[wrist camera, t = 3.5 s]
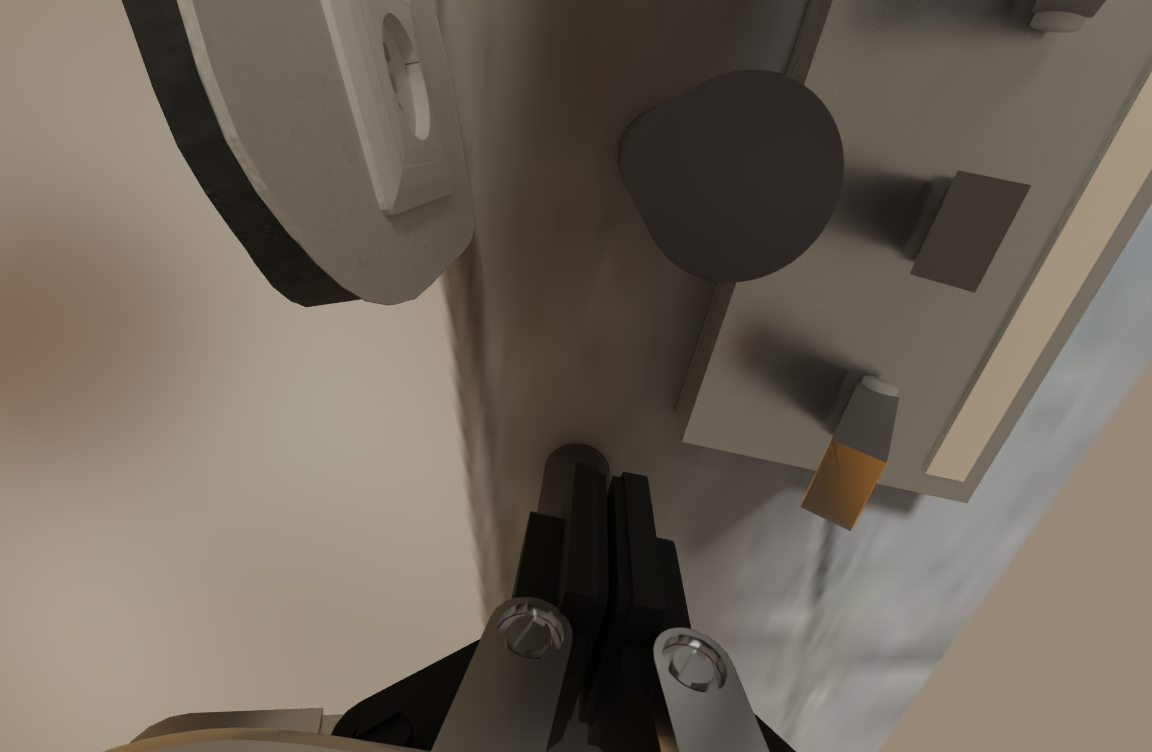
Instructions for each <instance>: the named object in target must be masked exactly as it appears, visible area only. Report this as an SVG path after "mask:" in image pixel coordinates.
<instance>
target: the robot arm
mask: <svg viewBox="0 0 1152 752" xmlns="http://www.w3.org/2000/svg"><path fill="white" fill-rule="evenodd" d="M578 696H579V709H578V720H579V723H584V724H588V732H587V745H592V746H597V747H599V748H600V749H601V750H602V751H603V752H796V751H795V750H793V749H792V748H791V747H790V746H789V745H788V744H787V743H786V742H785V741H784V740H783V739H782V738H780V737H779V736H778V735H777V734H776V733H775V732H774V731H773V730H772V729H771V728H770V727H769V726H767V725H766V724H765V723H764V722H763V721H762V720H761V719H760V718H759V717H758V716H757V715H755V714H754V713H753V710H752V708H751V706H750V703H749V701H748V698H747V696H746V694H745V691H744V689H743V686H742V684H741V682H740V679H739V677H738V674H737V672H736V670H735V667H734V665H733V663H732V661H731V660H730V658H729V656H728V654H727V653H726V652H725V651H724V650H723V649H722V647H721V646H720V645H719V644H718V643H716V642H715V641H714V640H712V639H711V638H710V637H708V636H707V635H705V634H702V633H700V632H698V631H696V630H692V629H691V626H690V621H689V615H688V610H687V605H686V600H685V595H684V589H683V584H682V579H681V574H680V568H679V563H678V558H677V553H676V547H675V544H674V542H673V541H671V540H666V539H662V538H657V537H656V531H655V524H654V517H653V511H652V504H651V497H650V490H649V483H648V478H647V477H646V476H642V475H637V474H633V473H628V472H623V473H622V474H621V477H616V476H613V477H612V479H611V482H610V485H609V489H608V492H607V479H606V474H602V473H599V469H598V466H595V465H590V464H585V463H581V462H576V461H575V462H574V465H573V468H572V472H571V476H570V480H569V484H568V488H567V492H566V496H565V500H564V504H563V508H562V512H561V515H560V517H555V516H550V515H546V514H541V513H536V512H530V516H529V520H528V524H527V529H526V533H525V537H524V542H523V546H522V551H521V556H520V560H519V565H518V570H517V575H516V580H515V585H514V590H513V595H512V599H511V600H508V601H505V602H504V603H503V604H501V605H500V606H498V607H497V608H496V609H495V611H494V612H493V614H492V615H491V617H490V619H489V621H488V623H487V626H486V628H485V630H484V632H483V635H482V637H481V639H479V640H477V641H475V642H473V643H471V644H469V645H468V646H466V647H464V648H462V649H460V650H458V651H456V652H454V653H453V654H450V655H449V656H447V657H445V658H443V659H441V660H439V661H437V662H435V663H433V664H431V665H429V666H428V667H426V668H424V669H422V670H420V671H418V672H416V673H414V674H412V675H410V676H409V677H407V678H405V679H403V680H401V681H399V682H397V683H395V684H393V685H392V686H390V687H388V688H386V689H384V690H382V691H380V692H378V693H376V694H375V695H372V696H371V697H368V698H367V699H365V700H363V701H361V702H359V703H358V704H357V705H355V706H354V707H352V708H351V709H349V710H348V711H347V712H346V713H345V714H344V715H323V708H308V709H283V710H257V711H233V712H207V713H188V714H183V715H178V716H173V717H169V718H167V719H165V720H163V721H161V722H158V723H156V724H154V725H152V726H150V727H148V728H147V729H146V730H145V731H144V732H142V733H141V734H140V735H138V736H137V737H136V738H135V739H133V740H132V741H131V742H130V743H129V744H126V745H122V746H119V747H116V748H113V749H110V750H107V751H104V752H547V751H548V750H549V749H550V748H552V747H553V746H554V745H556V744H557V743H558V742H560V741H561V740H562V739H563V736H564V733H565V730H566V727H567V723H568V720H569V721H570V720H571V718H572V716H573V712H574V709H575V706H576V703H577V700H578Z"/></svg>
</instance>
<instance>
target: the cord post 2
mask: <svg viewBox="0 0 1152 752" xmlns="http://www.w3.org/2000/svg"><path fill="white" fill-rule="evenodd" d="M618 163H619V168H620V171H621V174H622V176H623V178H624V180H625V182H626V184H627V186H628V188H629V191H630V193H631V195H632V197H633V199H634V201H635V203H636V205H637V207H638V209H639V212H640V214H641V216H642V218H643V220H644V222H645V224H646V226H647V228H648V230H649V232H650V234H651V237H652V238H653V240H654V241H655V243H656V244H657V246H658V247H659V249H660V250H661V251H662V252H663V253H664V254H665V255H666V257H667V258H668V259H670V260H671V261H672V262H673V263H674V264H676V265H677V266H678V267H680V268H682V269H683V270H685V271H686V272H688V273H690V274H693V275H695V276H697V277H700V278H703V279H707V280H711V281H717V282H733V283H734V282H744V281H750V280H754V279H758V278H761V277H764V276H767V275H770V274H772V273H774V272H776V271H778V270H780V269H782V268H784V267H785V266H787V265H789V264H790V263H792V262H793V261H795V260H796V259H797V258H798V257H799V256H801V255H802V254H803V253H804V252H805V251H806V250H807V249H808V248H809V247H810V246H811V245H812V244H813V243H814V242H815V241H816V239H817V238H818V237H819V236H820V234H821V233H822V232H823V230H824V228H825V227H826V225H827V224H828V222H829V220H830V218H831V216H832V214H833V212H834V210H835V208H836V205H837V202H838V199H839V196H840V192H841V187H842V182H843V174H844V153H843V146H842V141H841V137H840V134H839V131H838V128H837V125H836V123H835V121H834V119H833V117H832V115H831V113H830V111H829V110H828V109H827V107H826V106H825V104H824V103H823V102H822V100H821V99H820V98H819V97H818V96H817V95H816V94H815V93H814V92H813V91H811V90H810V89H809V88H807V87H806V86H805V85H803V84H802V83H800V82H798V81H796V80H794V79H792V78H790V77H788V76H785V75H782V74H779V73H776V72H770V71H764V70H743V71H735V72H731V73H727V74H723V75H720V76H717V77H715V78H713V79H710V80H708V81H706V82H704V83H702V84H700V85H698V86H696V87H694V88H692V89H690V90H688V91H686V92H684V93H682V94H681V95H679V96H677V97H675V98H673V99H671V100H669V101H667V102H665V103H663V104H661V105H659V106H657V107H656V108H654V109H652V110H650V111H648V112H646V113H644V114H642V115H641V116H639V117H638V118H636V119H635V120H634V121H633V122H632V123H631V124H630V125H629V126H628V128H627V129H626V130H625V132H624V134H623V136H622V138H621V141H620V144H619V150H618Z"/></svg>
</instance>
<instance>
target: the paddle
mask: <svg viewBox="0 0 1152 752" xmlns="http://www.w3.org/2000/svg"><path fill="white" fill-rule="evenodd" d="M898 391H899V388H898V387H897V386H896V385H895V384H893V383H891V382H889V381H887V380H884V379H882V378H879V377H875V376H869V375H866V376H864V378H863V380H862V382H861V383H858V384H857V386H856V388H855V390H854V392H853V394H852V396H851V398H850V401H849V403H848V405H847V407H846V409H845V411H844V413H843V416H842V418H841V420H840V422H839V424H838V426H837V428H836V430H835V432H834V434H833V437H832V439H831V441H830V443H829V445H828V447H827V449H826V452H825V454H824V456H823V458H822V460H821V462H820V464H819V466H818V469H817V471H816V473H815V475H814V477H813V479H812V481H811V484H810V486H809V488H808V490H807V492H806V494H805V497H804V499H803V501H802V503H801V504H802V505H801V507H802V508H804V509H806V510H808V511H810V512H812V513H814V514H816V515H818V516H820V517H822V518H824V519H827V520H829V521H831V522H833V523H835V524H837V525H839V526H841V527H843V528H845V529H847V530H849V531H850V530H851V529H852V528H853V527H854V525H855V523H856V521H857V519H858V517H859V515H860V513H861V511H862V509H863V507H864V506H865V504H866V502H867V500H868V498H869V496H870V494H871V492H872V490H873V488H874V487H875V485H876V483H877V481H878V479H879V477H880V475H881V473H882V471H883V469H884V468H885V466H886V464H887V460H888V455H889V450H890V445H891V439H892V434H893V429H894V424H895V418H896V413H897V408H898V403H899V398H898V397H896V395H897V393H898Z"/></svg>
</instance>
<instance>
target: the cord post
mask: <svg viewBox="0 0 1152 752" xmlns="http://www.w3.org/2000/svg"><path fill="white" fill-rule="evenodd" d="M575 461H576V462H581V463H585V464H590V465H595V466H598V469H599V473H602V474H606V479H607V492H608V489H609V485H610V478H609V466H608V463H607V461H606V459H605V457H604V456H603V455H602V454H601V453H600V452H599V451H598V450H596V449H594V448H593V447H590V446H588V445H584V444H569V445H565V446H562V447H560V448H558V449H557V450H555V451H554V452H553V453H552V454H551V455H550V456H549V458H548V460H547V462H546V465H545V470H544V476H543V482H542V488H541V493H540V499H539V505H538V510H537V513H541V514H546V515H550V516H555V517H560V515H561V512H562V508H563V504H564V500H565V496H566V492H567V488H568V484H569V480H570V476H571V472H572V468H573V465H574V462H575ZM578 709H579V696H578V700H577V703H576V706H575V709H574V712H573V716H572V718H571V720H570V721H569V720H568V723H567V727H566V730H565V733H564V736H563V739H562V740H561V741H560V742H558V743H557V744H556V745H554V746H553V747H552V748H550V749H549V750H548V751H547V752H603V751H602V750H601V749H600V748H599V747H597V746H592V745H587V732H588V724H584V723H579V720H578Z"/></svg>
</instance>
